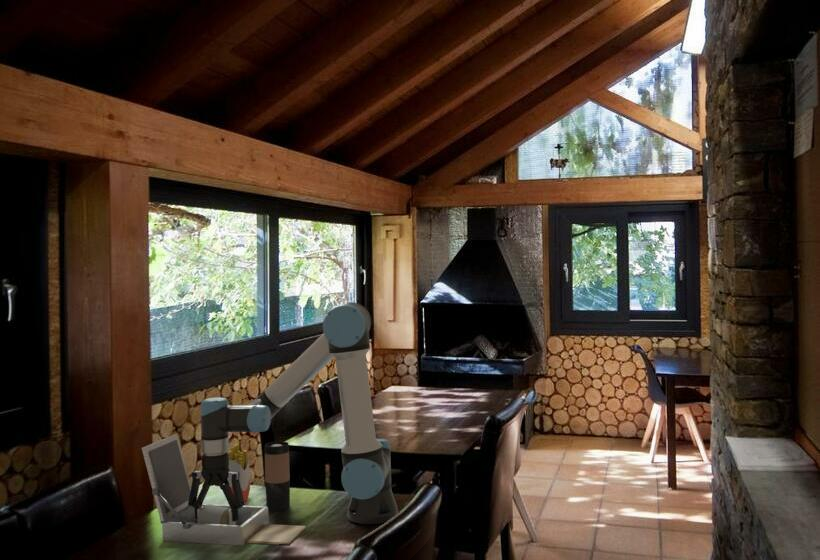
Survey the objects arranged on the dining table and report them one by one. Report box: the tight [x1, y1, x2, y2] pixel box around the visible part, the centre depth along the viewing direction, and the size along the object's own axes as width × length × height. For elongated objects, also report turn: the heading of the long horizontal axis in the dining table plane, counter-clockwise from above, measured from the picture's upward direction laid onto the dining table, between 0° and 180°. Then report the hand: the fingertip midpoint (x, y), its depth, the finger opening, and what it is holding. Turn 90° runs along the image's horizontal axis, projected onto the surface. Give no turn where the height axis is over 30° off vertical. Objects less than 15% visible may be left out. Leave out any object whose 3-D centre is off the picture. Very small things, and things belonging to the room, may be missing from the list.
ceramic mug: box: [196, 503, 230, 525], centre depth 199 cm, size 11×8×8 cm
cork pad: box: [247, 523, 307, 545], centre depth 194 cm, size 12×13×1 cm
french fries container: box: [227, 443, 251, 503], centre depth 226 cm, size 5×11×18 cm, turn 178°
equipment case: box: [141, 433, 269, 546], centre depth 198 cm, size 30×18×26 cm, turn 78°
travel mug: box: [264, 441, 291, 512], centre depth 219 cm, size 8×8×20 cm
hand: (216, 531), depth 198 cm, fingers open, 9 cm apart
